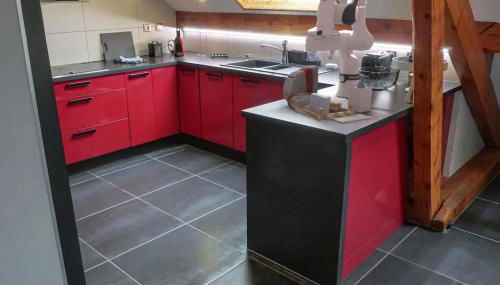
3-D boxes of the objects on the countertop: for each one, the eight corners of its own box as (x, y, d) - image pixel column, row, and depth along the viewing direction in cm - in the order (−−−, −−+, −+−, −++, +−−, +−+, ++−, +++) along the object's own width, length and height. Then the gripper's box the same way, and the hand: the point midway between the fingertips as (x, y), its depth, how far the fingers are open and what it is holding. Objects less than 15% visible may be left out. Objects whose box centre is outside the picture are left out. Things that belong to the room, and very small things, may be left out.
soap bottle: (359, 112, 225) (363, 77, 219) (347, 109, 232) (350, 74, 225) (370, 110, 230) (374, 75, 224) (357, 107, 236) (361, 73, 230)
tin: (311, 106, 237) (312, 91, 234) (313, 107, 234) (314, 92, 231) (286, 108, 232) (287, 93, 229) (289, 109, 229) (289, 94, 227)
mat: (360, 115, 221) (361, 114, 220) (370, 118, 215) (370, 117, 215) (332, 119, 212) (332, 118, 211) (342, 123, 206) (342, 122, 206)
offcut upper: (326, 105, 229) (327, 100, 228) (340, 108, 223) (341, 103, 222) (322, 106, 226) (322, 101, 225) (336, 109, 220) (336, 104, 219)
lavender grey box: (314, 111, 227) (315, 92, 224) (328, 116, 217) (330, 97, 214) (309, 111, 226) (310, 93, 222) (324, 117, 216) (325, 98, 212)
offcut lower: (328, 110, 231) (328, 104, 230) (342, 114, 222) (343, 109, 222) (321, 111, 228) (321, 106, 227) (335, 116, 220) (336, 110, 219)
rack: (327, 106, 237) (328, 96, 235) (353, 115, 220) (354, 104, 218) (294, 111, 226) (295, 100, 224) (319, 121, 209) (320, 109, 207)
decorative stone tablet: (310, 63, 253) (281, 74, 232) (320, 64, 249) (291, 75, 228) (310, 95, 260) (281, 108, 239) (319, 96, 256) (291, 110, 235)
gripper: (336, 30, 215) (334, 58, 220) (304, 31, 206) (302, 59, 210) (345, 31, 210) (342, 59, 214) (312, 32, 200) (310, 61, 205)
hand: (322, 59), depth 212 cm, fingers open, 8 cm apart
